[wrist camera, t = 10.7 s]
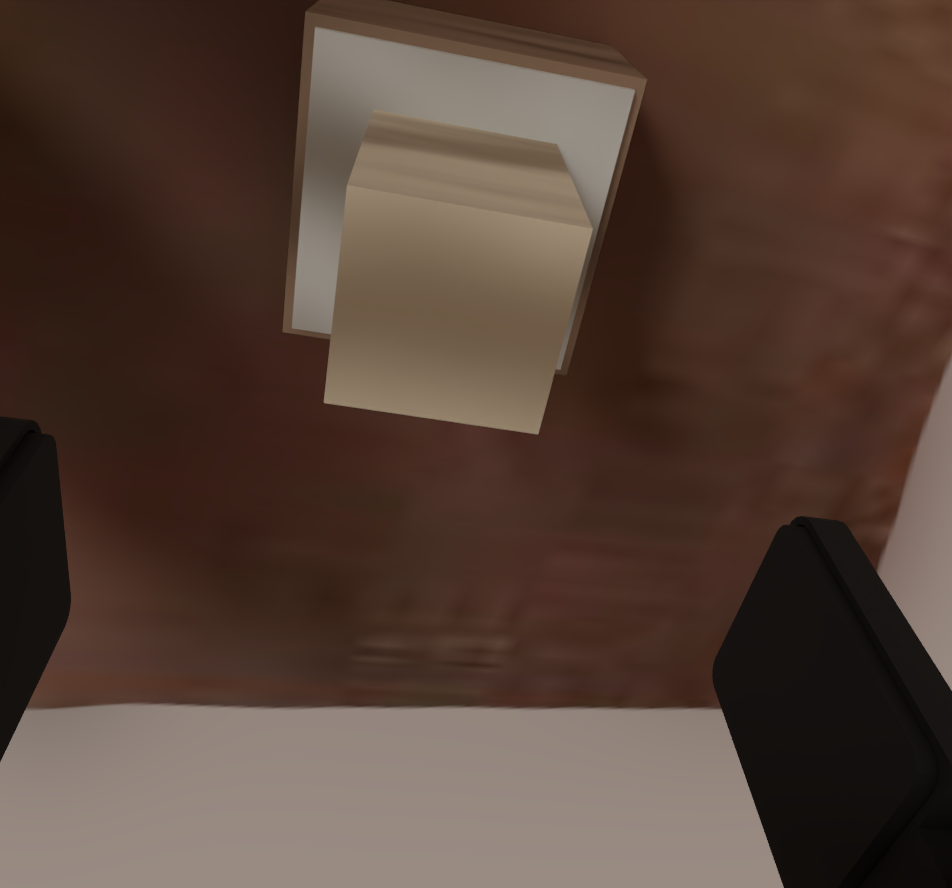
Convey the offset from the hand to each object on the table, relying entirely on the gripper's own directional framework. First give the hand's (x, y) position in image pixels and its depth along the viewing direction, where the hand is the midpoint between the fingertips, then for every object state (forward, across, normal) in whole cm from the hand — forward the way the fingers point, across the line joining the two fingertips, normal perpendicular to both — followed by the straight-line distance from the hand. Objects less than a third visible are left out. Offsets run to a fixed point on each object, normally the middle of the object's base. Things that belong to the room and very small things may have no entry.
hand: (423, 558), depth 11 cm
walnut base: (+22, -1, +1) cm, 22 cm away
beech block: (+15, -1, +1) cm, 15 cm away
